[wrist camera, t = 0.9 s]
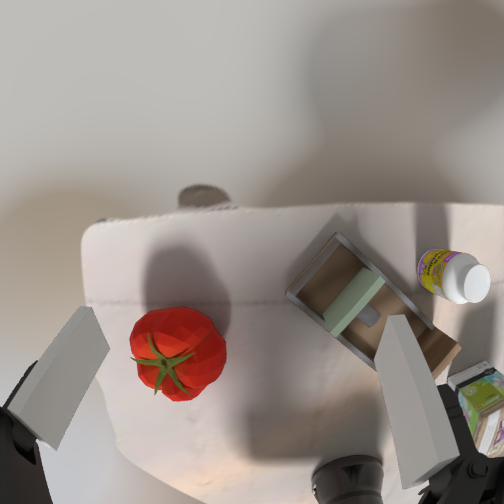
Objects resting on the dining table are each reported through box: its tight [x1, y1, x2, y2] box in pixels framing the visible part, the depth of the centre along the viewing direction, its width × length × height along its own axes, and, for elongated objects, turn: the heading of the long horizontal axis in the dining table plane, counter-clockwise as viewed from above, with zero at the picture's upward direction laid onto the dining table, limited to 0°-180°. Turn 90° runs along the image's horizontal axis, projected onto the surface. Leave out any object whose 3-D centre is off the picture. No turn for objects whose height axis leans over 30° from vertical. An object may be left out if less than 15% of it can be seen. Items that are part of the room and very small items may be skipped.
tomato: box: [129, 307, 227, 401], centre depth 38 cm, size 13×14×12 cm
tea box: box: [447, 361, 504, 458], centre depth 31 cm, size 15×10×15 cm
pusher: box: [322, 267, 386, 338], centre depth 35 cm, size 5×9×8 cm, turn 140°
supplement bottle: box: [417, 248, 490, 304], centre depth 32 cm, size 7×7×13 cm
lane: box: [285, 233, 462, 380], centre depth 35 cm, size 23×11×10 cm, turn 50°
